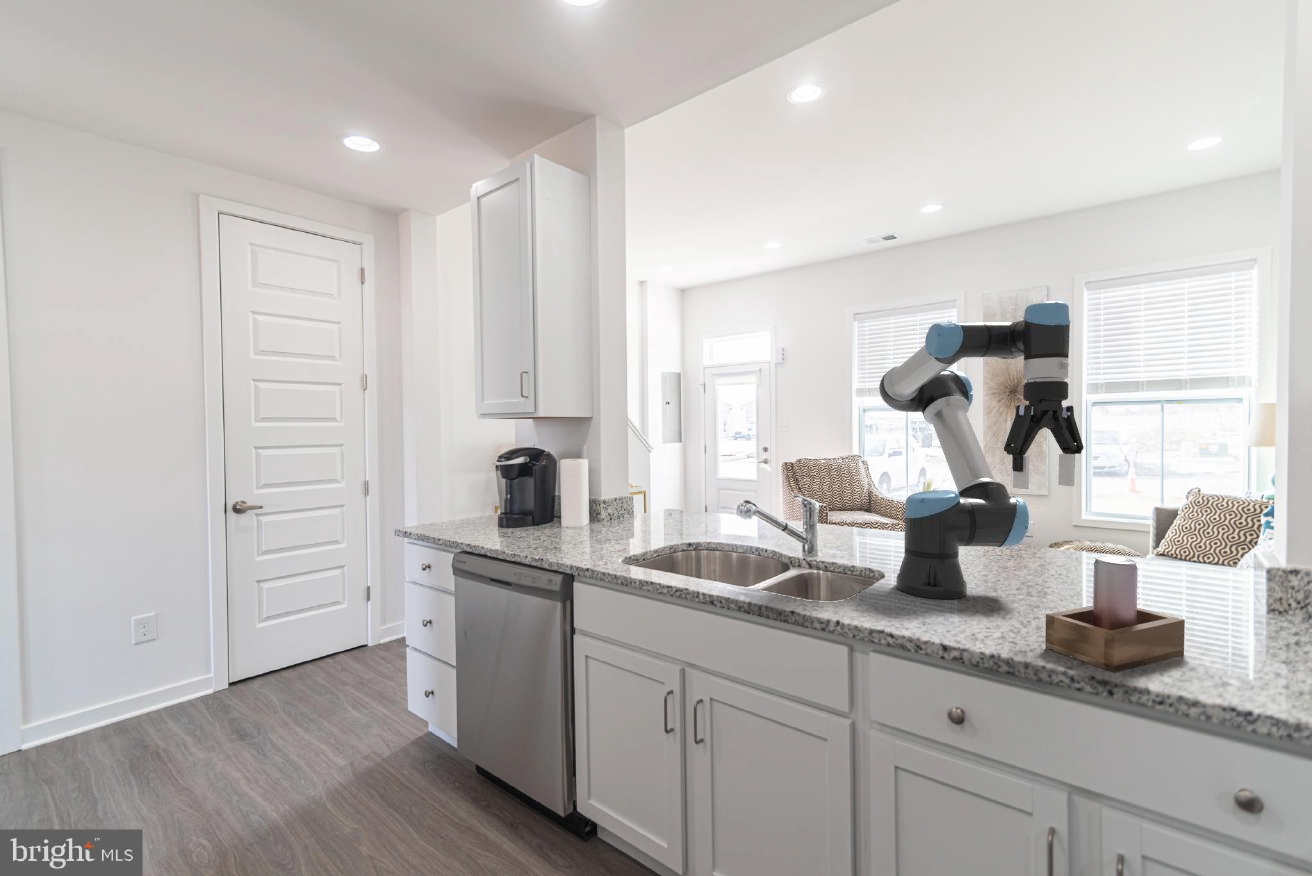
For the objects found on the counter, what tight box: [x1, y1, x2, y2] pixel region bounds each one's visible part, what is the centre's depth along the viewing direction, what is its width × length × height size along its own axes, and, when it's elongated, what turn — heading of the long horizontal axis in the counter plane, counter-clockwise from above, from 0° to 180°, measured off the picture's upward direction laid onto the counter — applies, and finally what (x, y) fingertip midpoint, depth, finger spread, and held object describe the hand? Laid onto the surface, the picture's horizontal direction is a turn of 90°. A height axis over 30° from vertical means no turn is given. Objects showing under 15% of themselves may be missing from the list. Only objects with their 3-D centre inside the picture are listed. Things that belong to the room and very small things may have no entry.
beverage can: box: [1092, 555, 1139, 631], centre depth 102 cm, size 6×6×15 cm
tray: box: [1044, 605, 1186, 673], centre depth 102 cm, size 11×19×6 cm, turn 112°
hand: (1044, 487), depth 118 cm, fingers open, 13 cm apart
